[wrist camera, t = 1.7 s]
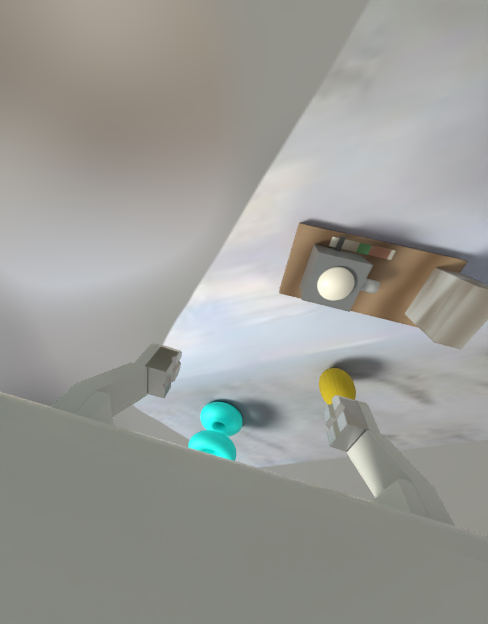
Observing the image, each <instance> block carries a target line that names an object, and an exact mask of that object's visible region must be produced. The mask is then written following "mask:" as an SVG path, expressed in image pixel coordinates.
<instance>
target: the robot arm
mask: <svg viewBox="0 0 488 624" xmlns="http://www.w3.org/2000/svg"><path fill="white" fill-rule="evenodd" d="M181 355H182V352H181V351H180V350H176V349H173V348H170V347H167V346H163V345H159V344H156V343H152V344H151V345H150V346H149V347H148V348H147V349H146V350H145V351H144V352H143V354H142V355H141V356H140V357H139V358H138V359H137V360H136V361H135V362H134V363H128V364H125V365H123V366H120V367H118V368H115V369H112V370H110V371H107V372H104V373H102V374H99V375H97V376H94V377H92V378H89V379H86V380H84V381H81V382H78V383H76V384H75V385H74V386H73V387H72V388H70V389H69V390H68V391H67V392H66V393H65V394H64V395H63V396H62V397H60V398H59V399H58V400H57V401H56V402H55V403H54V404H53V405H51V406H46V405H43V404H40V403H36V402H33V401H29V400H26V399H23V398H19V397H16V396H12V395H9V394H5V393H2V392H0V624H488V536H487V535H484V534H481V533H477V532H474V531H470V530H467V529H464V528H460V527H457V526H455V525H454V523H453V521H452V519H451V517H450V515H449V514H448V512H447V510H446V508H445V506H444V504H443V502H442V501H441V499H440V497H439V495H438V493H437V491H436V489H435V488H434V487H433V486H432V485H431V484H430V483H429V481H427V479H426V478H425V477H424V476H423V475H422V474H421V473H420V472H419V471H418V470H417V469H416V468H415V467H414V466H413V465H412V464H411V463H410V462H409V461H408V460H407V459H406V458H405V457H404V455H402V453H401V452H400V451H399V450H398V449H397V448H396V447H395V446H394V445H393V444H392V443H391V442H390V441H389V440H388V439H387V438H386V437H385V436H384V435H382V434H381V433H380V431H379V429H378V427H377V424H376V422H375V420H374V417H373V415H372V413H371V411H370V408H369V406H368V405H367V404H366V403H364V402H360V401H356V400H353V399H349V398H345V397H342V396H338V395H335V396H334V397H333V398H332V404H330V405H328V406H327V408H326V409H325V414H324V421H325V425H326V426H327V427H328V429H329V430H328V432H327V436H328V440H329V445H330V447H333V448H337V449H340V450H343V451H346V452H347V454H348V455H349V457H350V459H351V460H352V462H353V463H354V465H355V466H356V468H357V470H358V471H359V473H360V474H361V476H362V477H363V479H364V480H365V482H366V483H367V485H368V487H369V488H370V490H371V491H372V493H373V494H374V496H375V498H374V499H373V500H372V501H368V500H365V499H362V498H358V497H355V496H351V495H348V494H345V493H341V492H338V491H335V490H331V489H328V488H325V487H321V486H318V485H314V484H311V483H308V482H304V481H301V480H297V479H294V478H290V477H287V476H284V475H280V474H277V473H273V472H270V471H266V470H263V469H260V468H256V467H253V466H250V465H246V464H243V463H240V462H236V461H233V460H229V459H226V458H223V457H219V456H216V455H212V454H209V453H206V452H202V451H199V450H195V449H192V448H189V447H185V446H182V445H178V444H175V443H172V442H168V441H165V440H161V439H158V438H154V437H151V436H148V435H144V434H141V433H138V432H134V431H131V430H127V429H124V428H121V427H117V426H114V425H113V419H112V417H113V416H115V415H117V414H118V413H120V412H121V411H123V410H124V409H126V408H127V407H129V406H131V405H132V404H134V403H135V402H137V401H139V400H140V399H142V398H143V397H145V396H146V395H147V394H150V395H154V396H157V397H161V398H165V396H166V394H167V393H168V391H169V389H170V388H171V382H173V381H175V379H176V377H177V375H178V373H179V370H180V365H181V363H180V361H179V360H180V358H181Z"/></svg>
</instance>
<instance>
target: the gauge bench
mask: <svg viewBox="0 0 488 624" xmlns="http://www.w3.org/2000/svg"><path fill="white" fill-rule="evenodd" d="M340 235H342V236H345V237H346V239H345V241H344V243H343V246H342V248H341V251H345V252H350V253H354V254H358V255H360V256H362V257H363V258H364V259H366V260H367V261H368V262H370V263H371V264H372V265H373V266H372V268H371V270H370V272H369V274H368V276H367V278H366V279H371V280H375V281H379V282H380V287H379V290H378V291H377V292H376V293H375V294H373V293H369V292H365V291H360V292H359V294H358V296H357V298H356V300H355V302H354V304H353V306H352V308H351V310H350V311H354V312H358V313H362V314H366V315H370V316H374V317H378V318H382V319H386V320H390V321H394V322H398V323H402V324H406V325H410V326H414V327H419V328H420V329H421V330H422V331H423V332H424V333H425V334H426V335H427V336H428V337H429V338H430V339H431V340H432V341H433V342H434V343H438V344H442V345H446V346H450V347H454V348H458V349H462V348H463V347H464V346H465V344H466V343H467V342H468V341H469V340H470V339H471V338H472V337H473V336H474V334H475V333H476V332H477V331H478V330H479V329H480V328H481V327H482V326H483V324H484V323H485V322H486V321H487V320H488V285H487V284H484V283H482V282H480V281H477V280H475V279H473V278H470V277H468V276H465V275H463V274H461V273H460V271H461V270H462V269H463V267H464V266H465V265H466V263H467V262H468V261H465V260H462V259H459V258H454V257H450V256H445V255H441V254H436V253H432V252H427V251H423V250H419V249H414V248H410V247H405V246H401V245H396V244H392V243H387V242H383V241H378V240H374V239H369V238H365V237H360V236H356V235H351V234H347V233H342V232H338V231H333V230H329V229H325V228H320V227H316V226H311V225H307V224H302V223H299V225H298V229H297V232H296V235H295V239H294V242H293V246H292V249H291V252H290V256H289V259H288V263H287V266H286V269H285V273H284V276H283V279H282V283H281V286H280V290H279V293H281V294H285V295H289V296H293V297H297V298H301V292H300V283H301V280H302V277H303V274H304V271H305V269H306V266H307V263H308V260H309V257H310V254H311V251H312V248H313V245H314V244H315V245H319V246H323V247H328V248H332V249H335V247H336V245H337V242H338V240H339V237H340ZM301 299H302V298H301Z"/></svg>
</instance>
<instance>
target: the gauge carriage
mask: <svg viewBox="0 0 488 624" xmlns="http://www.w3.org/2000/svg"><path fill="white" fill-rule="evenodd" d="M345 239H346V237H345V236H342V235H340V237H339V240H338V242H337V245H336V247H335V249H332V248H328V247H323V246H319V245H315V244H314V245H313V248H312V251H311V254H310V257H309V260H308V263H307V266H306V269H305V271H304V274H303V277H302V280H301V283H300V292H301V298H302V300H304V301H308V302H312V303H317V304H321V305H325V306H329V307H333V308H337V309H341V310H345V311H349V312H350V310H351V308H352V306H353V304H354V302H355V300H356V298H357V296H358V294H359V292H360V291H365V292H369V293H373V294H375V293H376V292H377V291H378V290H379V287H380V282H379V281H375V280H371V279H366V278H367V276H368V274H369V272H370V270H371V268H372V266H373V265H372V264H371V263H370V262H368V261H367V260H366V259H364V258H363V257H362V256H360V255H358V254H354V253H350V252H345V251H341V248H342V246H343V243H344V241H345Z"/></svg>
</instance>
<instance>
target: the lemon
mask: <svg viewBox="0 0 488 624" xmlns="http://www.w3.org/2000/svg"><path fill="white" fill-rule="evenodd" d="M319 388H320V392H321V395H322V397H323V399H324V400H325V402H326V403H327V404H328V405H330V404H332V398H333V397H334V396H335V395H338V396H342V397H345V398H349V399H353V400H355V396H356V390H355V386H354V382H353V380H352V379H351V377H350V376H349V375H348V374H347V373H346V372H345V371H343V370H341V369H338V368H330V369H327V370H325V371H324V372H323V373H322V375H321V376H320V380H319Z"/></svg>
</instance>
